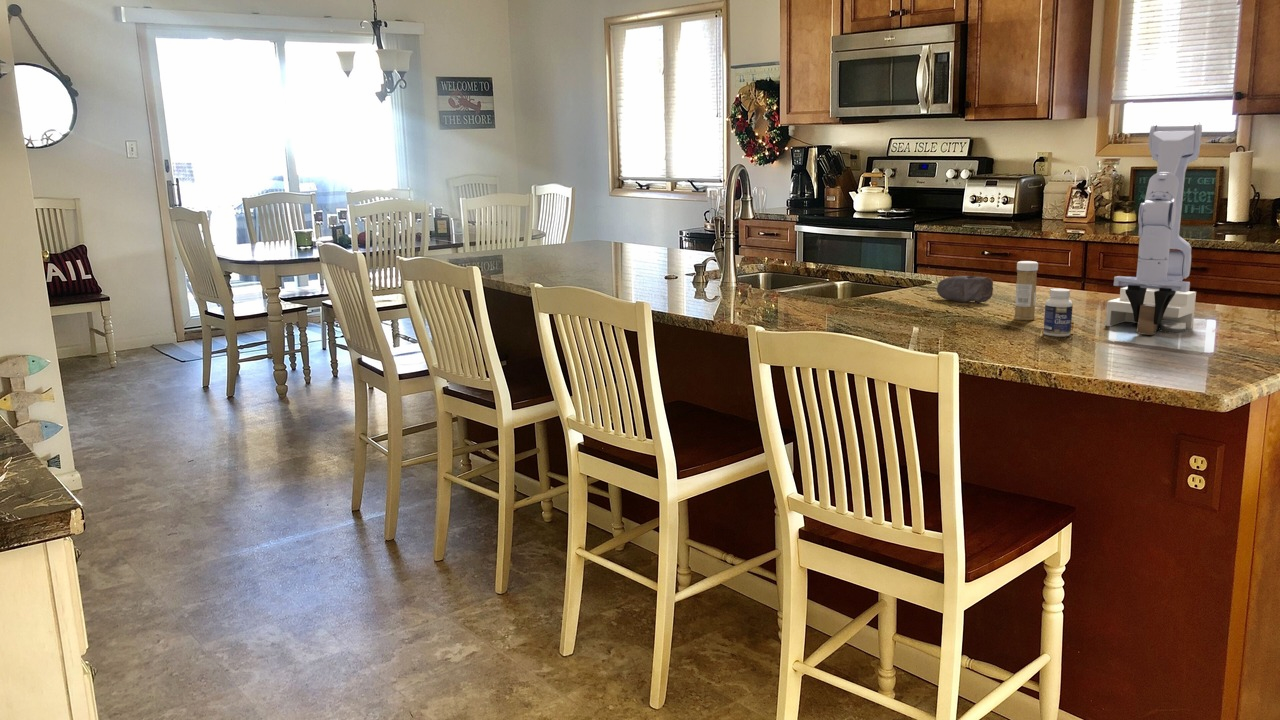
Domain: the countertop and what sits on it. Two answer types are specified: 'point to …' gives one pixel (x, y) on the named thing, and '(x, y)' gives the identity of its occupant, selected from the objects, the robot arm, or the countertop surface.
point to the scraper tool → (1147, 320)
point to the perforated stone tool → (966, 289)
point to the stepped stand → (1176, 309)
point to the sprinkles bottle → (1026, 290)
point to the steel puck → (1172, 326)
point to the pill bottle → (1058, 313)
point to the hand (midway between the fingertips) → (1147, 322)
